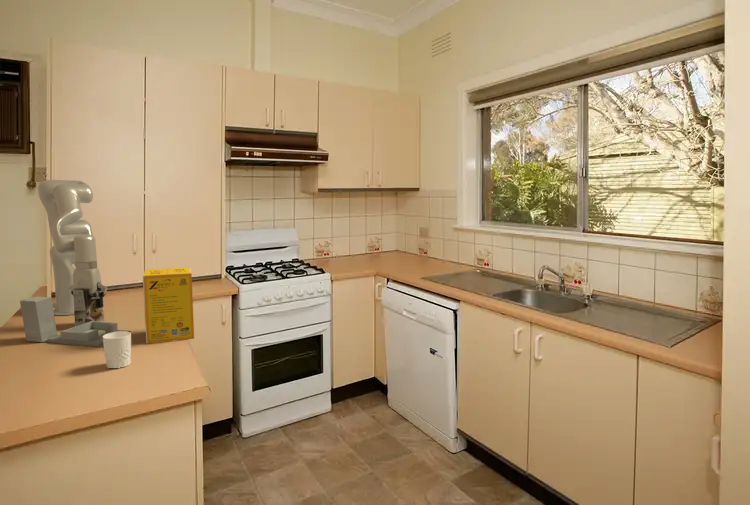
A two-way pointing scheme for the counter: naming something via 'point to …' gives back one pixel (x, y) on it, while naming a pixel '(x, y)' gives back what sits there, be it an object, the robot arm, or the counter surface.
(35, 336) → the skincare box
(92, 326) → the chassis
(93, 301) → the coffee box
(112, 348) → the white cup
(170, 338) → the packaging box
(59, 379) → the counter surface
